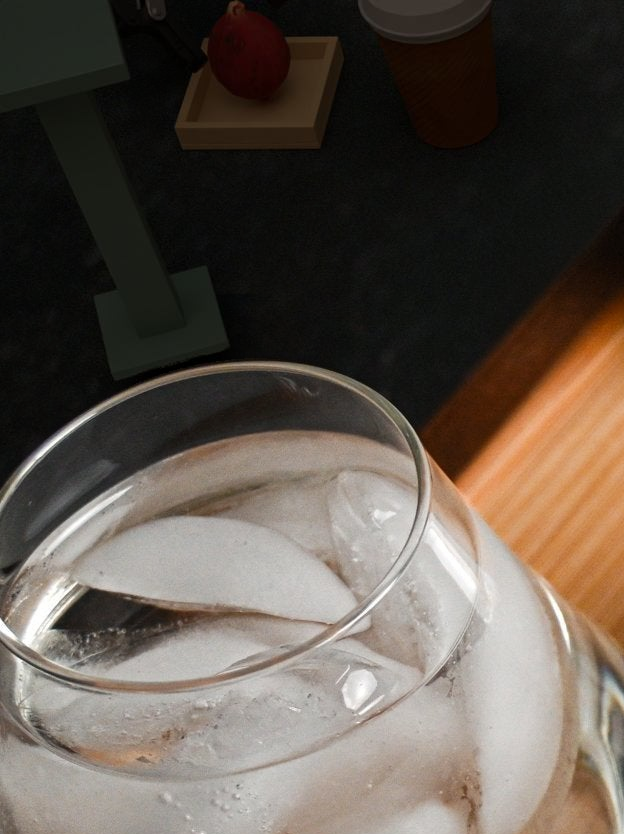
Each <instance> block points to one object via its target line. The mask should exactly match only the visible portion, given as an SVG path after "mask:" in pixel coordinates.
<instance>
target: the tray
mask: <svg viewBox="0 0 624 834" xmlns="http://www.w3.org/2000/svg"><path fill="white" fill-rule="evenodd" d="M284 37H285V39H286V41H287V44H288V46H289V49H290V56H291V61H290V67H289V72H288V75H287V78H286V79H285V80H284V82H283V83H282V84H281V86H280V87H279V88H278V89H277V90H276V91H275V92H274V93H273V94H271V96H270V97H269V98H267V99H264V100H249V99H246V98H242V97H239V96H236V95H233V94H232V93H231V92H229V91H228V90H227V89H226V88H225V87H224V86H223V85H222V84H220V83H219V82H218V81H217V79H216V77H215V75H214V74H213V72H212V69H211V66H210V63H209V58H208V62H207V63H206V64H205V66H204V67H203V68H202V69H200V70H199V71H198V72H197V73H193V72H191V77H190V79H189V82H188V85H187V88H186V92H185V95H184V98H183V101H182V103H181V107H180V110H179V112H178V115H177V118H176V122H175V124H174V131H175V133H176V136H177V138H178V141H179V144H180V147H181V149H182V150H183V151H188V150H189V151H193V150H199V151H202V150H203V151H205V150H207V151H208V150H209V151H210V150H213V151H215V150H217V151H219V150H320V149H321V148H322V144H323V143H322V142H323V140H324V137H325V132H326V129H327V125H328V121H329V117H330V114H331V110H332V106H333V102H334V98H335V95H336V91H337V88H338V83H339V80H340V76H341V73H342V69H343V65H344V63H345V55H344V52H343V49H342V45H341V42H340V39H339V36H284ZM208 41H209V37H204V38H203V40H202V43H201V46H200V48H201V49H202V50H203V52H204V53H205V54H206V55H207V57H208V54H207V47H208Z"/></svg>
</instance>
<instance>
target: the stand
mask: <svg viewBox="0 0 624 834" xmlns="http://www.w3.org/2000/svg"><path fill="white" fill-rule="evenodd" d="M122 44H123V43H122V41H121V38H120V37H119V33H118V29H117V26H116V22H115V18H114V14H113V11H112V7H111V3H110V0H0V114H4V113H6V112H11V111H14V110H18V109H23V108H26V107H29V106H33V107H34V109H35V111H36V113H37V116H38V118H39V120H40V122H41V125H42V127H43V129H44V131H45V134H46V135H47V137H48V140H49V142H50V144H51V146H52V149H53V151H54V154H55V155H56V157H57V160H58V162H59V164H60V166H61V168H62V170H63V173H64V175H65V178H66V180H67V181H68V184H69V186H70V188H71V190H72V192H73V195H74V197H75V200H76V201H77V203H78V206H79V208H80V210H81V212H82V215H83V216H84V219H85V221H86V223H87V225H88V228H89V230H90V232H91V235H92V236H93V238H94V241H95V243H96V246H97V247H98V249H99V252H100V254H101V257H102V259H103V261H104V263H105V265H106V267H107V270H108V272H109V274H110V276H111V279H112V281H113V283H114V284H115V288H116V289H113V290H110V291H106V292H103V293H99V294H94V295H93V301H94V305H95V310H96V314H97V318H98V324H99V327H100V331H101V332H100V333H101V336H102V340H103V344H104V349H105V353H106V358H107V363H108V367H109V371H110V374H111V376H112V379H113V380H114V382H117V381H120V380H124V379H127V378H131V377H134V376H133V375H135V376H137V375H136V374H138V373H141V372H143V371H145V370H148V369H149V368H154V367H155V366H156V367H159V366H162V368H161V369H163V368H166V367H165V366H163V365H168V364H170V363H172V364H171V365H168V366H167V367H170V366H173V365H177V363H175V364H173V362H176V361H179V360H185V359H186V358H190V357H192V356H198V355H206V356H210V355H212V354H216V353H221V352H223V350H224V349H225V347H226V346H229V345H230V346H231V343H230V339H229V336H228V333H227V330H226V326H224V325H225V322H224V319H222V318H223V316H222V311H221V308H220V305H219V301H218V297H217V294H216V290H215V287H214V283H213V279H212V276H211V272H210V270H209V268H208V265H206V264H205V265H202V266H197V267H194V268H190V269H187V270H183V271H179V272H176V273H172V274H170V272H169V270H168V267H167V266H166V264H165V261H164V259H163V255H162V254H161V251H160V249H159V247H158V244H157V242H156V240H155V237H154V235H153V232H152V230H151V227H150V224H149V222H148V221H147V220H148V219H147V218H146V215H145V213H144V211H143V208H142V206H141V203H140V201H139V199H138V196H137V194H136V192H135V190H134V187H133V185H132V182H131V180H130V178H129V175H128V172H127V171H126V169H125V166H124V164H123V161H122V158H121V157H120V154H119V152H118V150H117V146H116V144H115V143H114V140H113V137H112V135H111V133H110V130H109V128H108V126H107V122H106V121H105V118H104V115H103V113H102V111H101V108H100V107H99V104H98V102H97V100H96V97H95V94H94V93H93V90H95V89H100V88H103V87H107V86H111V85H115V84H119V83H123V82H126V81H130V80H131V74H130V71H129V67H128V63H127V59H126V56H125V52H124V48H123V45H122ZM227 336H228V337H227ZM229 343H230V344H229ZM224 351H225V350H224ZM209 354H210V355H209ZM185 362H187V360H185V361H180V363H179V364H181V363H185ZM138 375H139V374H138Z"/></svg>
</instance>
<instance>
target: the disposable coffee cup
mask: <svg viewBox="0 0 624 834" xmlns="http://www.w3.org/2000/svg"><path fill="white" fill-rule="evenodd" d="M357 3H358V9H359V11H360V14H361V16H362V18H363V19H364V20H365V22H366V23H367V24H368V25H369V26H370V27H371V29H372V30H373V33H374V35H375V37H376V40H377V41H378V43H379V47H380V49H381V52H382V53H383V56H384V58H385V61H386V63H387V66H388V68H389V70H390V72H391V75H392V77H393V80H394V83H395V84H396V87H397V89H398V92H399V94H400V97H401V99H402V102H403V104H404V107H405V109H406V111H407V113H408V116H409V118H410V121H411V123H412V126H413V128H414V131H415V134H416V135H417V136H418V137H419V139H421V140H422V141H423V142H424V143H426V144H428V145H431V146H433V147H437V148H442V149H457V148H459V149H460V148H464V147H468V146H471V145H474V144H477V143H479V142H481V141H482V140H483V139H486V138H487V137H488V136H489V135H491V133H492V132H493V131H494V129H495V128H496V127H497V125H498V122H499V118H500V117H499V116H500V115H499V103H498V89H497V75H496V73H497V71H496V61H495V60H496V59H495V46H494V45H495V44H494V29H493V14H492V5H493V0H357Z"/></svg>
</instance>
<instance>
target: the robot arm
mask: <svg viewBox="0 0 624 834" xmlns="http://www.w3.org/2000/svg"><path fill="white" fill-rule="evenodd" d="M265 1H266V3H267V4H268V5H269V6H270V7H271V8H272V9H273V10H275V11H278V10H279V9H281V8H282V7H283V6H284V5H285V4H286V3H287V2H288V1H289V0H265ZM135 2H136V8H137V9H136V8H135V6H134V5H133V3H131V2H130V0H110V3H111V7H112V11H113V14H114V18H115V22H116V26H117V29H118V33H119V37H120V39H122V40H129V39H131V38H132V36H136V35H140V34H147V35H149V36H151V37H152V38H153V39H154V40H155V41H156V43H158V45H159V46H160V47H161V48H162V49H163V50H164V52H165V53H166V54H168V56H169V57H170V58H171V59H172V61H173V62H174V63H175V64H176V65H177V66H178V67H179V68H180V69H182V70H185V71H186V70H187V69H188V70H189V71H190V72H191V73H197V72H198V71H199V70H200V69H202V68H203V67H204V66H205V64H206V63H207V62H208V57H207V55H206V54H205V53H204V52H203V50H202V49H201V46H200V45H199V44H198V43H197V42H196V41H195V40H194V38H193V37H192V36H191V35H190V34H189V33H188V32H187V30H186V29H185V28H184V27H183V26H182V24H180V23H181V22H179V20H177V19H176V18H175V16H174V15H173V14H171V15H170V16H167V11H166V4H165V0H135Z"/></svg>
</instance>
